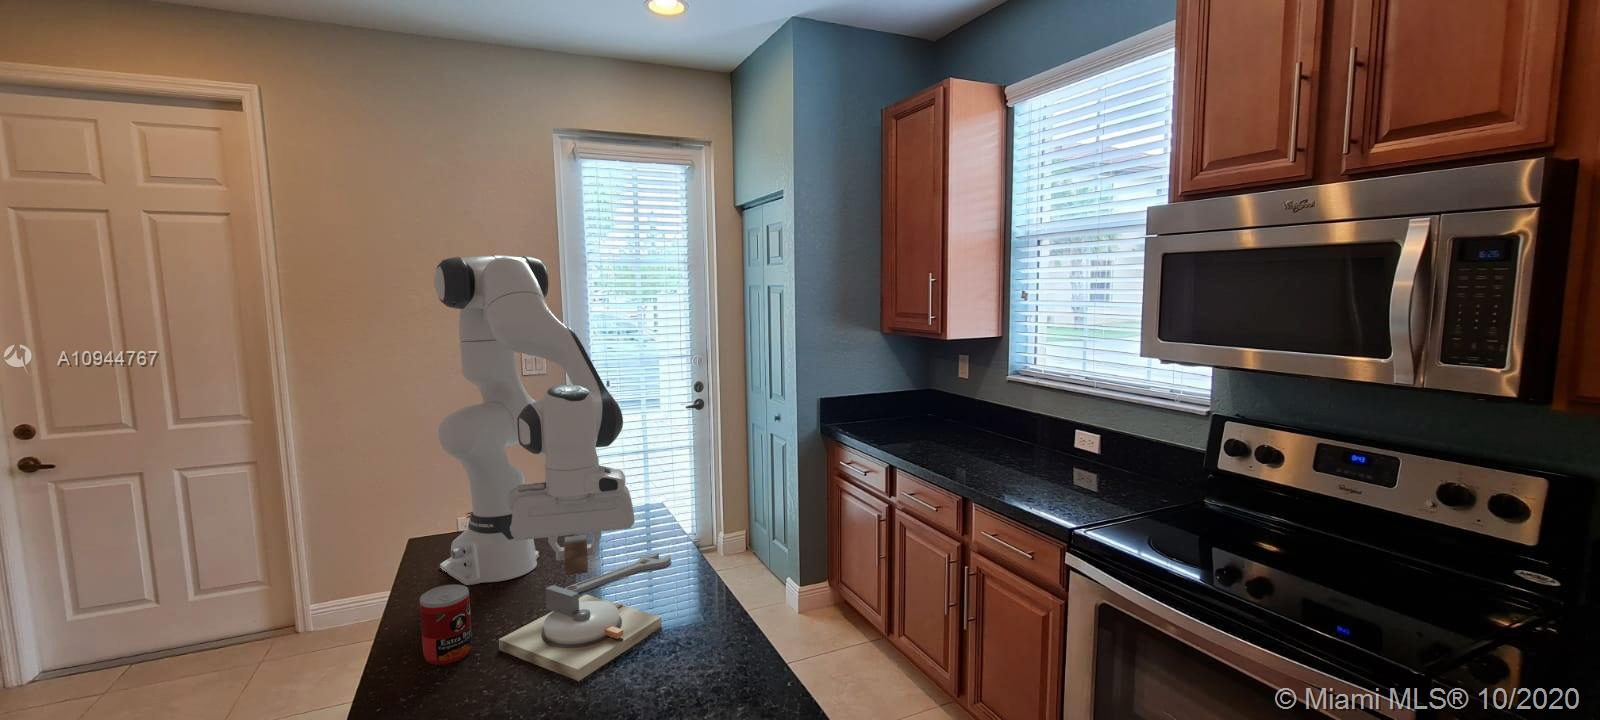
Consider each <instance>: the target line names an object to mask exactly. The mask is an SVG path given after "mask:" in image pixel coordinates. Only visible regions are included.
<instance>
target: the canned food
mask: <svg viewBox="0 0 1600 720" xmlns="http://www.w3.org/2000/svg"><path fill="white" fill-rule="evenodd" d="M470 602H471V600H470V592H469V588H468V587H467V585H466V586H465V585H464V584H463V585H462V584H445V585H440V586H438V587H434V588H432V589H429V590H428V591H425V592H424V593H422V594H421V596H420V597H419V614H420V615H419V617H420V627H421V640H422V652H423V657H424V659H425V661H426V663H428V664H431V665H448V664H451V663H454V662H457V661H460V660H461V659H463V658H465V657H467V655H468V654H470V653H471V650H472V647H473V635H472V633H473V632H472V621H471V620H472V618H471V617H472V616H471V603H470Z"/></svg>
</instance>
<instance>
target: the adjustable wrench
mask: <svg viewBox="0 0 1600 720" xmlns="http://www.w3.org/2000/svg"><path fill="white" fill-rule="evenodd" d="M658 558H659V559H658ZM670 562H672V558H671V555H670V554H668V555H667V556H665V557H664V558H660V554H659V552H653V553H649V554H646V555H643V556H639V558H638V559H637V561H636V562H634V563H632V564H629V565H627V566H622V567H620V568H617V569H613V570H611V571H609V572H605V573H603V574H600V575H597V576H594V577H591V578H588V579H584V580H583V581H579V582H577V583H574V584H571V585H568V586H566V587H565V588H564V589H567V590H571V591H574V592H577V593H578V594H579V593H582V592H585V591H588V590H591V589H593V588H597V587H600V586H602V585H604V584H607V583H610V582H613V581H616V580H618V579H621V578H624V577H626V576H629V575H632V574H635V573H638V572H642V571H647V570H648V571H649V570H653V569H660V568H661V569H662V568H665V567H667V566H670V564H671V563H670Z"/></svg>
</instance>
